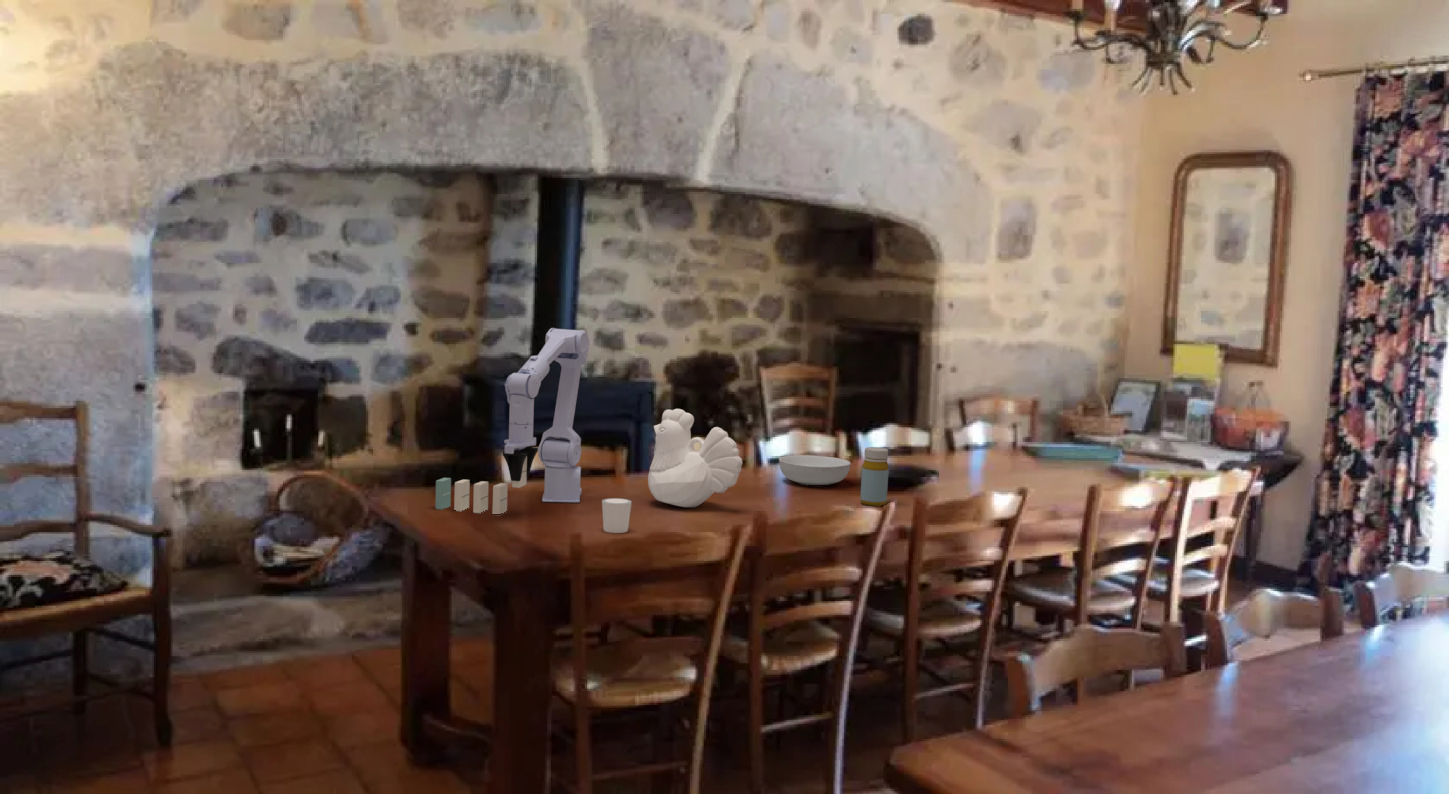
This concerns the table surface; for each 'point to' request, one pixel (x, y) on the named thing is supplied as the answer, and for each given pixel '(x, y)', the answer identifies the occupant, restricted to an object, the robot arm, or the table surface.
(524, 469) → the lead tile
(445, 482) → the tile
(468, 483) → the tile
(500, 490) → the tile
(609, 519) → the shot glass
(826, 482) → the serving bowl
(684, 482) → the decorative rooster
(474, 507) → the tile
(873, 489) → the bottle
